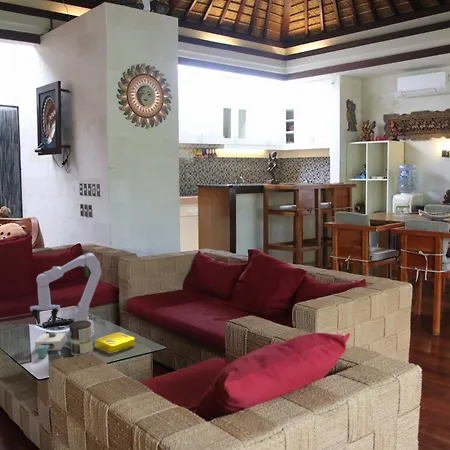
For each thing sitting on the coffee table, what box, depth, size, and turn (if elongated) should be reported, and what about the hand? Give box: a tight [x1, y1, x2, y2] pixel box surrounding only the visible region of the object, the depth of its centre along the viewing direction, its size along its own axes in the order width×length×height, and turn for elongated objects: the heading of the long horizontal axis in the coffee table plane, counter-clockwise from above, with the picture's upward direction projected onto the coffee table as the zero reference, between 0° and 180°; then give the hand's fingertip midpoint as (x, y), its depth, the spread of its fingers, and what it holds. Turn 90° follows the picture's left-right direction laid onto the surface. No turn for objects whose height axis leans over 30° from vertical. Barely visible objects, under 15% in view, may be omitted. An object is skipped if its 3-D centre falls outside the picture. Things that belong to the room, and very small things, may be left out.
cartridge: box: [37, 344, 52, 359], centre depth 269 cm, size 14×3×5 cm, turn 0°
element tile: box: [94, 331, 136, 352], centre depth 275 cm, size 15×15×5 cm
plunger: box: [48, 332, 56, 337], centre depth 280 cm, size 3×3×2 cm
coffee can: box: [68, 320, 94, 357], centre depth 268 cm, size 10×10×14 cm
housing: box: [34, 332, 68, 352], centre depth 278 cm, size 12×12×4 cm
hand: (46, 323), depth 283 cm, fingers open, 7 cm apart
